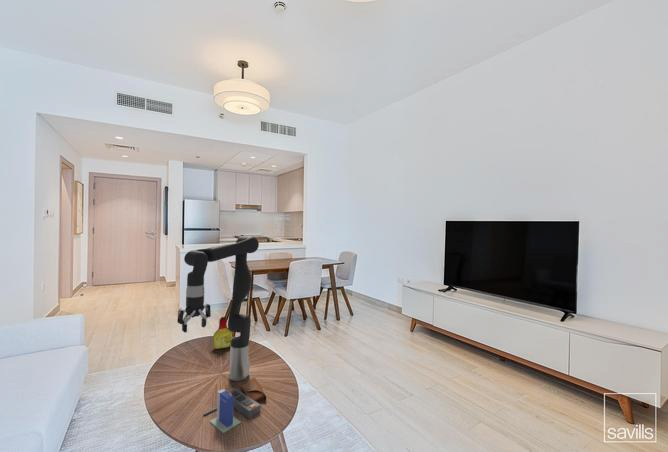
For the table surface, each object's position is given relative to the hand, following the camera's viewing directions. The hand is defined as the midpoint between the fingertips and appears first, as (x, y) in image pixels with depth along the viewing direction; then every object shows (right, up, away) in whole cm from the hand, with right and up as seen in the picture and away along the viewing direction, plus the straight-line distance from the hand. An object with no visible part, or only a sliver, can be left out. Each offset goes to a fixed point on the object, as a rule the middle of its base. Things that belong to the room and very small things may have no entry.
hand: (194, 329), depth 136 cm
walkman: (+19, -34, -13) cm, 41 cm away
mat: (+19, -34, -13) cm, 41 cm away
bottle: (-8, -32, +57) cm, 65 cm away
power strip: (+16, -34, -5) cm, 38 cm away
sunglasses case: (+25, -35, +8) cm, 43 cm away
